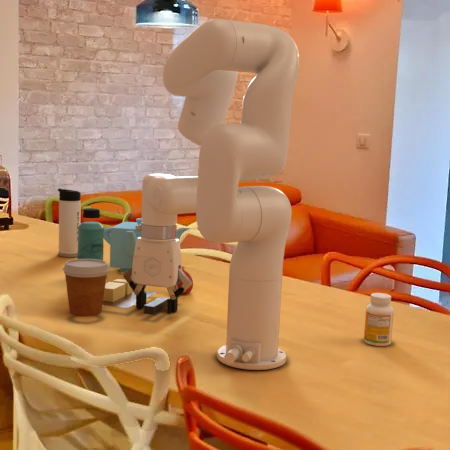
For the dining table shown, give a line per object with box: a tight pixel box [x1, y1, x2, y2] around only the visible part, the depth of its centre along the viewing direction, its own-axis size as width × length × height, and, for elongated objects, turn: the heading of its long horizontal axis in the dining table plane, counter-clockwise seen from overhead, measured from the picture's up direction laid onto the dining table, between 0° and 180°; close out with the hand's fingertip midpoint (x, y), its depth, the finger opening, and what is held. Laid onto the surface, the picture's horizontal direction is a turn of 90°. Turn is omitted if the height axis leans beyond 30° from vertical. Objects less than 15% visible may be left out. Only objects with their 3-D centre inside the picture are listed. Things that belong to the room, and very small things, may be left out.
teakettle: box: [103, 217, 191, 274], centre depth 203 cm, size 19×19×15 cm
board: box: [102, 289, 158, 309], centre depth 170 cm, size 16×12×2 cm
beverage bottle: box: [76, 207, 105, 261], centre depth 180 cm, size 6×7×20 cm
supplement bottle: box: [363, 292, 394, 347], centre depth 148 cm, size 5×5×10 cm
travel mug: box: [57, 188, 82, 258], centre depth 220 cm, size 6×7×20 cm
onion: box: [177, 265, 194, 296], centre depth 176 cm, size 6×6×8 cm
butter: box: [103, 281, 125, 302], centre depth 168 cm, size 6×4×3 cm, turn 161°
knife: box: [143, 296, 170, 316], centre depth 164 cm, size 15×2×3 cm, turn 161°
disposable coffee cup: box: [62, 258, 110, 317], centre depth 156 cm, size 10×10×12 cm
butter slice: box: [111, 278, 132, 295], centre depth 173 cm, size 2×4×3 cm, turn 71°
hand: (156, 313), depth 161 cm, fingers open, 6 cm apart
